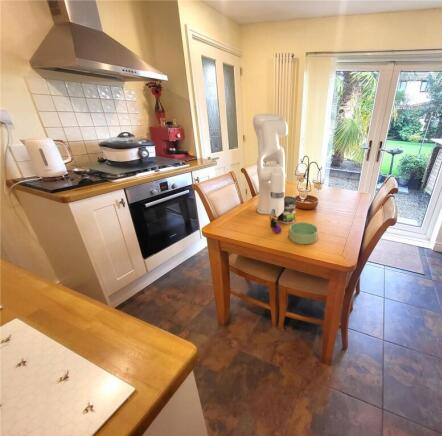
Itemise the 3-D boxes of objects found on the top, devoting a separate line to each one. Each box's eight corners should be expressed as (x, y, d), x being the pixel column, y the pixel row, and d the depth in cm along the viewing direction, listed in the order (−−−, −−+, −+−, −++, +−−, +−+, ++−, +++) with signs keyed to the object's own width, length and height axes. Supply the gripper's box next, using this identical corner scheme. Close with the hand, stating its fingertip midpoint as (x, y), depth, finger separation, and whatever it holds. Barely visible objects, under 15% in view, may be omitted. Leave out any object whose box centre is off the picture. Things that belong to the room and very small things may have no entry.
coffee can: (298, 221, 145) (299, 200, 139) (283, 224, 140) (283, 203, 134) (290, 215, 153) (291, 195, 147) (276, 218, 149) (276, 197, 143)
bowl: (284, 241, 123) (284, 232, 121) (294, 228, 136) (294, 220, 134) (312, 247, 119) (313, 238, 116) (320, 234, 132) (320, 225, 129)
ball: (271, 234, 130) (271, 226, 127) (274, 230, 134) (274, 222, 132) (279, 235, 128) (279, 227, 126) (282, 231, 132) (282, 224, 130)
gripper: (277, 189, 130) (277, 217, 137) (263, 198, 115) (264, 229, 122) (290, 190, 127) (289, 219, 134) (277, 200, 112) (277, 232, 119)
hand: (277, 224), depth 128 cm, fingers open, 9 cm apart
